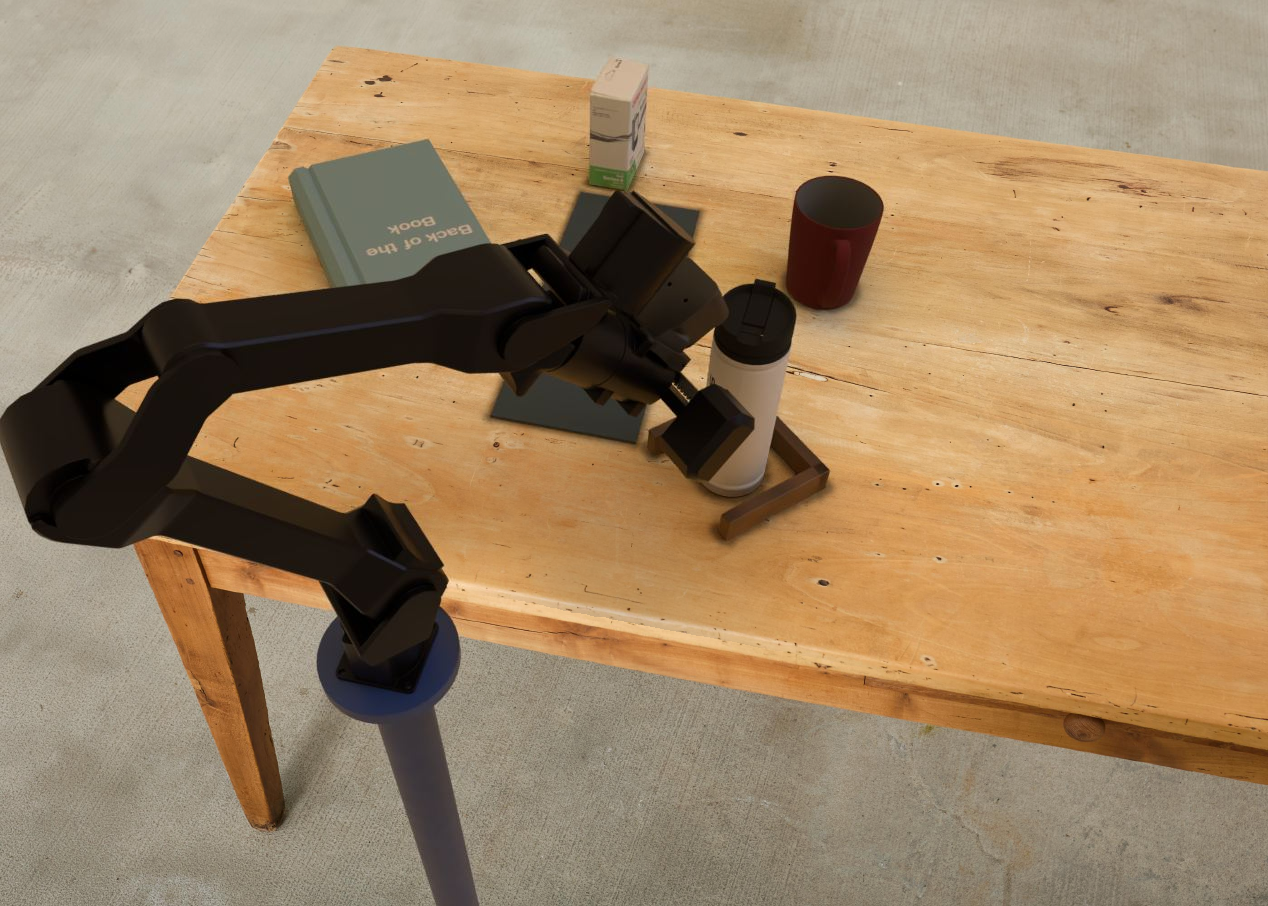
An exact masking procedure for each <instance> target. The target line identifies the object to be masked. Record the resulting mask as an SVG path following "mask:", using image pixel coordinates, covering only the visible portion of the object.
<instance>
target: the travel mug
mask: <svg viewBox="0 0 1268 906" xmlns="http://www.w3.org/2000/svg"><path fill="white" fill-rule="evenodd" d="M776 286H777V282H774V281H770V280H766V279H760V278H755V279H754V280H753V283H743V284H740V285H737V286H735V287H733V288H730V289H729V290H728V291H727V292H726V293H724V294H723V295H722V296H723V298H724V300H725V303H726V305H727V307H728V309H729V315H728V317H727V319H726V320H725V321H724V322H723V323H722V324H721V325H719V326H716V327H715V328H713V332H712V341H711V348H710V354H709V362H708V370H707V377H706V385H705V387H707V386H709V385H712V384H714V383H715V384H717V385H719V386H721V387H723V388H724V389H725V390H726V389H727V390H728V391H729V392H730V393H731V394H732V395H733V396H734V397H735V398H736V399H737V400H738V401H739V402H740V403H741V404H742V405H743V406H744V407H745V408H746V410H747V411H748V412H749V413H750V414H751V415H752V416H753V417H754V418H755V429H754V430H753V432H752V433H751V434H750V435H749V436H748V437H747V438H746V440H745V441H744V442H743V443H742V444H741V445H740V446H739V448H738V449H737V450H736V451H735V452H734V453H733V455H732V456H731V457H730V458H729V459H728V460H727V461H726V463H725V464H724V465H723V466H722V467H721V468H720V469H719V471H718V472H717V473H716V474H715V475H714V476H713V478H712V479H711V480H710V481H709V482H700V484H702V485H703V486H704V487H705V489H707V490H708V491H710V492H712V493H713V494H716V495H719V496H723V497H728V498H733V497H734V498H736V497H743V496H745V495H749V494H750V493H753V492H754V491H756V490H757V489H758V488H759V487H760V485H761V484H762V482H763V479H764V477H765V472H766V467H767V463H768V458H769V453H770V449H771V445H770V444H771V440H772V435H773V430H774V426H775V421H776V416H778V411H779V407H780V402H781V396H782V392H783V387H784V383H785V378H786V373H787V369H788V364H789V360H790V355H791V350H792V344H793V337H794V332H795V328H796V323H797V309H796V307H795V304H794V303H793V301H792V299H791V298H790V297H789V296H788V295H787V294H786V293H785V292H784V291H782V290H780V289H778V288H776Z"/></svg>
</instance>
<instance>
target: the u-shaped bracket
mask: <svg viewBox="0 0 1268 906" xmlns="http://www.w3.org/2000/svg"><path fill="white" fill-rule="evenodd" d="M676 417H677V416H674V417H672V418H671V419H668V420H667V421H665V422H662V423H660V424H658V425H656V426H653V427H651V428H649V429H648V430H647V431H648V432H647V446H646V447H647V449H648V450H649V451H650V452H651V454H652V455H653V456H656V455H658V454H660V453H662V452H663V451H662V450H661V448H660V441H661V435H662V434H663V433H664V432H665V431H666V429H667V428H668V427H669V426H670V425H671V423H672V422H673V421H674V420H675V419H676ZM770 447H771V448H772V449H773V450H774V451H775V452H776V454H778V455H779V456H780V457H781V459H783V460H784V461H785V462H786V464H787V465H788V466H789V467H790V468H791V469H792V470H793V471H794V472H795V473H796V475H794V476H791V477H789V478H787V479H785V480H783V481H782V482H780V483H778V484H776V485H774V486H773V487H770V488H768V489H766V490H765V491H763V492H761V493H759V494H757V495H755V496H753V497H751V498H749V499H748V500H745V501H744V502H742V503H740V504H738V505H735V506H733V507H732V508H729V509H727V510H726V511H724V512H722V513H721V514H720V519H719V524H718V525H719V526H718V532H719V533H720V534H721V536H722V537H723V538H724V539H725V540H726V541H728V540H729V539H732V538H733V537H735V536H737V535H739V534H741V533H743V532H744V531H746V530H749V529H750V528H752V527H754V526H756V525H758V524H759V523H762V522H763V521H765V520H767V519H769V518H771V517H772V516H774V515H777V514H778V513H780V512H782V511H784V510H786V509H787V508H788V509H789V507H792V506H793V505H795V504H797V503H798V502H801V501H803V500H804V499H807V498H808V497H811V496H812V495H814V494H816V493H817V492H819V491H821V490H823V489H825V488H826V487H827V483H828V479H829V477H830V472H831V469H830V468H828V466H827V465H826V464H825V463H824V462H823V461H822V460H821V459H820V458H819V457H818V456H817V455H816V454H815V453H814V452H813V451H812V450H811V449H810V448H809V447H808V445H806V444H805V443H804V442H803V440H801V439H800V437H798V435H797V434H796V433H795V432H794V431H793V430H792V429H791V428H790V427H789V426H788V425H787V424H785V422H784V421H783V420H782V419H781V418H780V417H779V416H778V415H777V416H776V421H775V426H774V430H773V435H772V440H771V444H770Z"/></svg>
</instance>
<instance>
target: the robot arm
mask: <svg viewBox="0 0 1268 906" xmlns="http://www.w3.org/2000/svg"><path fill="white" fill-rule="evenodd" d="M654 204H655V203H654ZM654 204H652V202H651V201H650V200H648V199H647V198H646V197H644V196H643V195H641V194H640V193H639V192H637V191H636V190H634V189H632V190H631V191H630V190H623V191H622V190H621V189H616V190H614V191H613V193H612V194H611V195H610V198H609V200H608V201H607V202H606V204H605V205H604V207H603V209H602V211H601V212H600V214H599V216H598V217H597V219H596V220H595V222H594V223H593V224H592V226H591V227H590V228H589V230H588V231H587V232H586V233H585V235H584V236H583V237H582V239H581V240H580V241H579V243H578V244H577V245H576V247H575V248H574V249H573V251H572V252H569V251H567V250H565V249H564V248H562V247H560V246H559V244H558V242H556V240H555V239H554V238H553V237H552V236H551V235H550V234H549V233H542V234H537V235H534V236H529V237H525V238H519V239H516V240H513V241H508V242H505V243H504V242H503V243H494V242H493V243H492V242H491V243H485V244H480V245H476V246H472V247H468V248H464V249H461V250H457V251H453V252H449V253H446V254H442V255H438V256H436V257H434V258H432V259H431V260H430V261H429V262H428V263H427V264H425V265H424V266H423V267H422V268H421V269H420V270H418V271H417V272H416V273H415V274H414V275H412V276H409V277H405V278H401V279H398V280H393V281H385V282H376V283H368V284H360V285H352V286H343V287H335V288H331V287H328V288H319V289H312V290H303V291H302V290H301V291H294V292H286V293H285V292H284V293H279V294H268V295H260V296H252V297H246V298H236V299H235V298H234V299H229V300H221V301H211V302H198V301H196V300H194V299H191V298H179V297H178V298H176V297H175V298H172V299H168V300H165V301H162V302H161V303H158V304H157V305H155V306H154V307H153V308H151V309H150V310H149V311H147V313H145V314H144V315H143V316H142V317H141V318H140V319H139V320H138V321H136V322H135V323H134V324H133V325H132V326H131V327H130V328H129V329H128V330H126V331H125V332H122V333H118V334H116V335H114V336H111V337H108V338H105V339H102V340H100V341H97V342H93V343H91V344H89V345H85V346H82V347H80V348H78V349H77V350H75V351H73V352H72V353H71V354H70V355H69V356H67V358H66V359H64V360H63V361H62V362H61V363H60V364H59V365H58V366H57V367H55V369H54V370H52V371H51V372H50V373H49V374H48V375H47V376H46V377H44V378H43V379H42V380H41V381H40V382H39V383H38V384H37V385H36V386H35V387H34V388H32V390H31V391H29V392H26V393H25V394H22V395H20V396H19V397H18V398H17V399H15V400H14V401H13V402H11V404H9V405H8V406H7V407H6V408H5V410H4V411H3V413H2V415H1V416H0V448H1V451H2V453H3V456H4V459H5V461H6V464H7V467H8V470H9V472H10V475H11V478H12V481H13V483H14V486H15V490H16V492H17V495H18V497H19V500H20V504H21V506H22V508H23V512H24V514H25V518H26V520H27V522H28V524H29V525H30V528H31V530H32V531H33V532H35V533H36V534H37V535H38V536H39V537H41V538H44V539H46V540H48V541H51V542H55V543H60V544H67V545H78V546H85V547H95V548H104V549H116V550H117V549H118V550H120V549H124V548H126V547H129V546H131V545H134V544H137V543H140V542H143V541H145V540H147V539H150V538H153V537H156V536H157V537H165V538H168V539H171V540H174V541H178V542H182V543H184V544H185V543H186V544H189V545H193V546H196V547H199V548H202V549H206V550H210V551H213V552H215V553H216V552H217V553H220V554H222V555H223V554H224V555H227V556H231V557H233V558H237V559H240V560H245V561H247V562H252V563H255V564H259V565H262V566H265V567H268V568H273V569H275V570H280V571H283V572H286V573H290V574H293V575H297V576H300V577H303V578H307V579H311V580H315V581H317V582H318V583H319V585H320V587H321V589H322V591H323V592H324V594H325V596H326V598H327V600H328V601H329V603H330V605H331V607H332V609H333V611H334V613H335V614H336V617H337V616H338V618H339V621H340V624H341V628H342V631H343V634H344V635H343V638H342V642H343V645H344V648H345V651H344V653H343V656H342V658H341V660H340V662H339V665H338V667H337V669H336V672H335V673H336V676H337V678H338V679H340V680H343V681H348V682H353V683H357V684H362V685H367V686H371V687H376V688H381V689H386V690H390V691H395V692H400V693H404V694H412V693H414V692H415V690H416V688H417V685H418V683H419V680H420V677H421V675H422V672H423V670H424V667H425V664H426V662H427V659H428V656H429V654H430V651H431V648H432V646H433V643H434V641H435V638H436V635H437V633H438V630H439V626H438V623H437V622H435V619H436V616H437V613H438V610H439V607H441V603H442V597H443V596H444V594H445V592H446V590H447V587H448V584H449V582H450V579H449V577H448V576H447V574H446V573H445V571H444V569H443V568H444V567H445V564H444V562H443V560H442V559H441V557H440V556H439V554H438V553H437V551H436V549H435V548H434V547H433V545H432V543H431V542H430V540H429V539H428V537H427V536H426V534H425V532H424V530H423V529H422V528H421V526H420V524H419V523H418V522H417V520H416V518H415V517H414V516H413V514H412V512H411V511H410V509H409V507H408V506H407V504H406V503H405V502H391V501H388V500H386V499H385V498H383V497H382V496H381V495H379V494H378V493H372V494H371V495H370V496H369V497H368V499H367V500H366V501H365V502H364V504H362V505H359V506H357V507H355V508H353V509H351V510H349V511H347V512H341V511H338V510H335V509H333V508H330V507H327V506H325V505H322V504H320V503H317V502H314V501H312V500H309V499H306V498H303V497H301V496H299V495H296V494H294V493H293V494H292V493H290V492H287V491H284V490H282V489H280V488H276V487H274V486H271V485H268V484H266V483H263V482H261V481H258V480H255V479H253V478H250V477H247V476H245V475H242V474H239V473H236V472H234V471H232V470H228V469H226V468H223V467H220V466H218V465H215V464H213V463H210V462H207V461H205V460H202V459H200V458H197V457H194V456H191V455H189V453H190V451H191V449H192V447H193V445H194V444H195V442H196V439H197V438H198V436H199V434H200V432H201V430H202V428H203V426H204V424H205V422H206V420H208V418H209V417H210V416H211V415H212V414H213V413H214V412H215V411H216V410H218V409H220V407H221V406H222V405H223V404H225V403H226V402H227V401H228V400H229V399H230V398H231V397H232V396H233V395H236V394H242V393H248V392H255V391H260V390H265V389H266V390H267V389H272V388H278V387H284V386H290V385H295V384H302V383H306V382H307V383H309V382H312V381H318V380H325V379H330V378H337V377H342V376H348V375H352V374H360V373H365V372H371V371H376V370H384V369H388V368H394V367H401V366H407V365H411V364H431V365H435V366H439V367H443V368H447V369H450V370H453V371H456V372H460V373H463V374H468V375H478V374H479V375H480V374H482V375H484V374H485V375H486V374H498V375H499V376H500V377H501V378H502V380H503V382H504V381H505V382H506V383H507V385H508V386H509V387H510V389H511V390H512V391H513V392H514V394H515V395H516V396H517V397H523V396H524V395H525V394H526V393H527V392H528V390H529V389H530V388H531V386H532V385H533V384H534V383H535V381H536V380H537V379H538V377H539V376H540V375H541V374H542V373H545V374H547V375H550V376H553V377H556V378H558V379H561V380H564V381H566V382H569V383H572V384H575V385H577V386H580V387H582V388H583V389H584V391H585V392H586V393H587V394H588V395H589V397H590V398H591V399H592V400H593V401H594V403H596V404H599V405H602V406H604V405H605V403H606V402H607V401H608V400H609V398H613V399H615V400H616V401H617V402H618V403H619V405H620V406H621V407H622V408H623V409H624V410H625V411H626V413H627V414H628V415H630V416H633V417H637V416H638V415H639V414H640V412H641V411H642V410H643V409H644V408H645V406H646V407H647V406H648V405H649V406H650V405H651V406H652V405H653V404H655V403H656V402H659V401H660V400H661V401H662V402H663V403H664V404H665V406H666V407H667V408H668V409H669V410H670V411H671V412H672V413H673V414H674V415H675V417H676V419H675V420H674V421H673V422H672V423H671V425H670V426H669V427H668V428H667V429H666V431H665V432H664V433H663V434H662V435H661V441H660V448H661V450H662V452H663V453H664V454H665V455H666V456H667V458H668V459H669V460H670V462H671V463H672V464H673V465H674V466H675V467H676V468H677V469H678V470H679V472H680V473H681V474H682V475H683V476H684V478H685V479H688V480H690V481H694V482H698V483H701V482H709V481H710V480H711V479H712V478H713V476H714V475H715V474H716V473H717V472H718V471H719V469H720V468H721V467H722V466H723V465H724V464H725V463H726V461H727V460H728V459H729V458H730V457H731V456H732V455H733V453H734V452H735V451H736V450H737V449H738V448H739V446H740V445H741V444H742V443H743V442H744V441H745V440H746V438H747V437H748V436H749V435H750V434H751V433H752V432H753V430H754V429H755V418H754V417H753V416H752V415H751V414H750V413H749V412H748V411H747V410H746V408H745V407H744V406H743V405H742V404H741V403H740V402H739V401H738V400H737V399H736V398H735V397H734V396H733V395H732V394H731V393H730V392H729V391H728V390H727V389H726V390H725V389H724V388H723V387H721V386H719V385H717V384H715V383H714V384H712V385H709V386H707V387H706V386H705V387H703V388H700V389H698V388H697V387H696V385H694V384H693V382H692V381H690V379H689V378H688V377H687V376H686V375H685V374H684V373H683V370H684V369H685V368H686V367H687V365H688V364H689V363H690V362H691V361H692V358H691V357H690V356H689V355H688V354H687V353H686V352H685V350H686V349H689V348H692V347H693V346H694V345H695V344H697V343H698V342H699V341H700V340H701V339H703V338H704V337H705V336H706V335H707V334H708V333H710V332H711V331H712V330H714V329H715V327H716V326H719V325H721V324H722V323H723V322H724V321H725V320H726V319H727V317H728V315H729V309H728V307H727V305H726V303H725V300H724V298H723V296H724V295H723V294H722V292H721V290H720V287H719V285H718V283H717V282H716V281H715V280H714V279H713V278H712V277H711V276H710V275H708V273H706V271H704V270H703V268H702V267H700V265H698V263H696V262H695V261H694V260H693V259H692V258H690V257H689V256H687V257H685V256H686V255H687V254H688V255H689V253H690V252H691V250H692V249H693V248H694V246H695V245H696V244H697V243H696V241H695V240H694V238H691V237H690V236H689V235H688V233H686V232H685V231H684V230H683V229H682V228H681V227H680V226H679V225H678V224H677V223H676V222H674V221H673V220H672V219H671V218H670V217H669V216H667V215H666V214H665V213H664V212H662V211H661V210H660V209H659V208H657V207H656V206H655V205H654ZM530 270H532V271H533V272H534V273H535V274H536V276H537V277H538V278H539V279H540V280H541V281H542V283H545V284H546V285H547V287H548V288H549V289H550V290H547V291H545V290H544V289H543V288H542V285H541V284H540V283H539V282H538V281H537V280H536V278H534V276H533V275H532V274H531V273H530ZM156 377H157V378H158V379H156V380H155V381H153V383H152V385H150V387H149V388H148V390H147V391H146V392H145V393H146V394H145V395H144V397H143V399H142V401H141V402H140V404H139V406H138V408H137V409H136V410H137V411H135V410H133V409H132V408H130V407H129V406H127V405H125V404H124V403H122V402H121V401H119V400H118V399H116V398H117V397H118V396H120V394H121V393H123V392H124V391H125V390H126V389H127V388H128V387H129V386H133V385H135V384H138V383H140V382H144V381H147V380H149V379H153V378H156ZM645 409H646V408H645ZM433 626H434V627H435V628H434V629H432V628H433ZM342 671H344V672H345V673H344V674H343V675H340V673H341V672H342ZM407 686H412V688H411V689H407Z"/></svg>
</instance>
